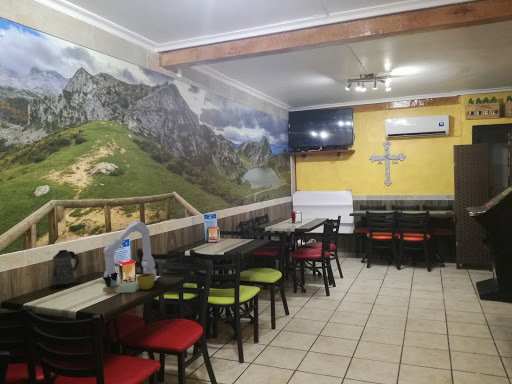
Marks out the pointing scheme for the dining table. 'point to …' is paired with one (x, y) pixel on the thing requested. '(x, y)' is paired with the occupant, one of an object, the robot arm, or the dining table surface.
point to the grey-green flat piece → (128, 287)
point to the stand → (110, 289)
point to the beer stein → (64, 269)
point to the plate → (113, 283)
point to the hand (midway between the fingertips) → (111, 285)
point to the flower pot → (145, 280)
